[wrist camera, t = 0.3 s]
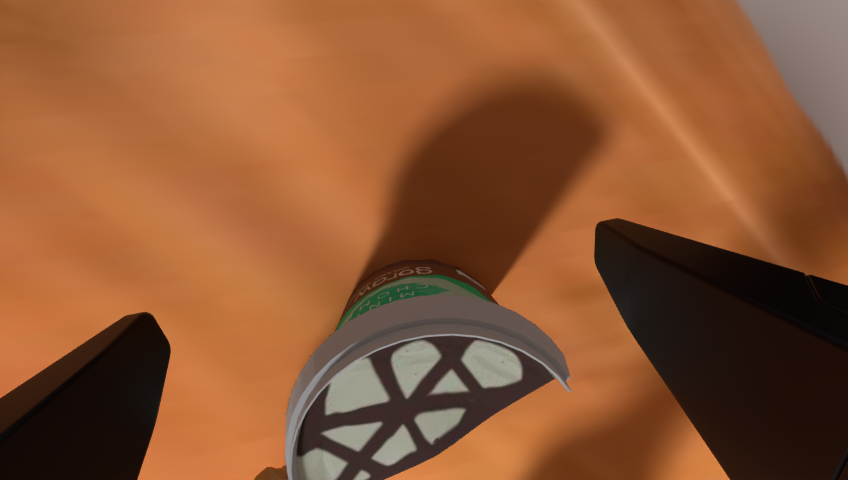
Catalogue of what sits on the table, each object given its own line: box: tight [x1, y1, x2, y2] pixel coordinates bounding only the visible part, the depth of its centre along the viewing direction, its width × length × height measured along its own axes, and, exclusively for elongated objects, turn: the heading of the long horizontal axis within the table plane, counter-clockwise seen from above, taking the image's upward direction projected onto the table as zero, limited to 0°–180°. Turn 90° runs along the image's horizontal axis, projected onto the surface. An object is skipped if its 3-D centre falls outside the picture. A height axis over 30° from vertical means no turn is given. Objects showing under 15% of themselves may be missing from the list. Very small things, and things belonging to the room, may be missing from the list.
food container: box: [285, 260, 571, 480], centre depth 21 cm, size 12×6×10 cm, turn 123°
